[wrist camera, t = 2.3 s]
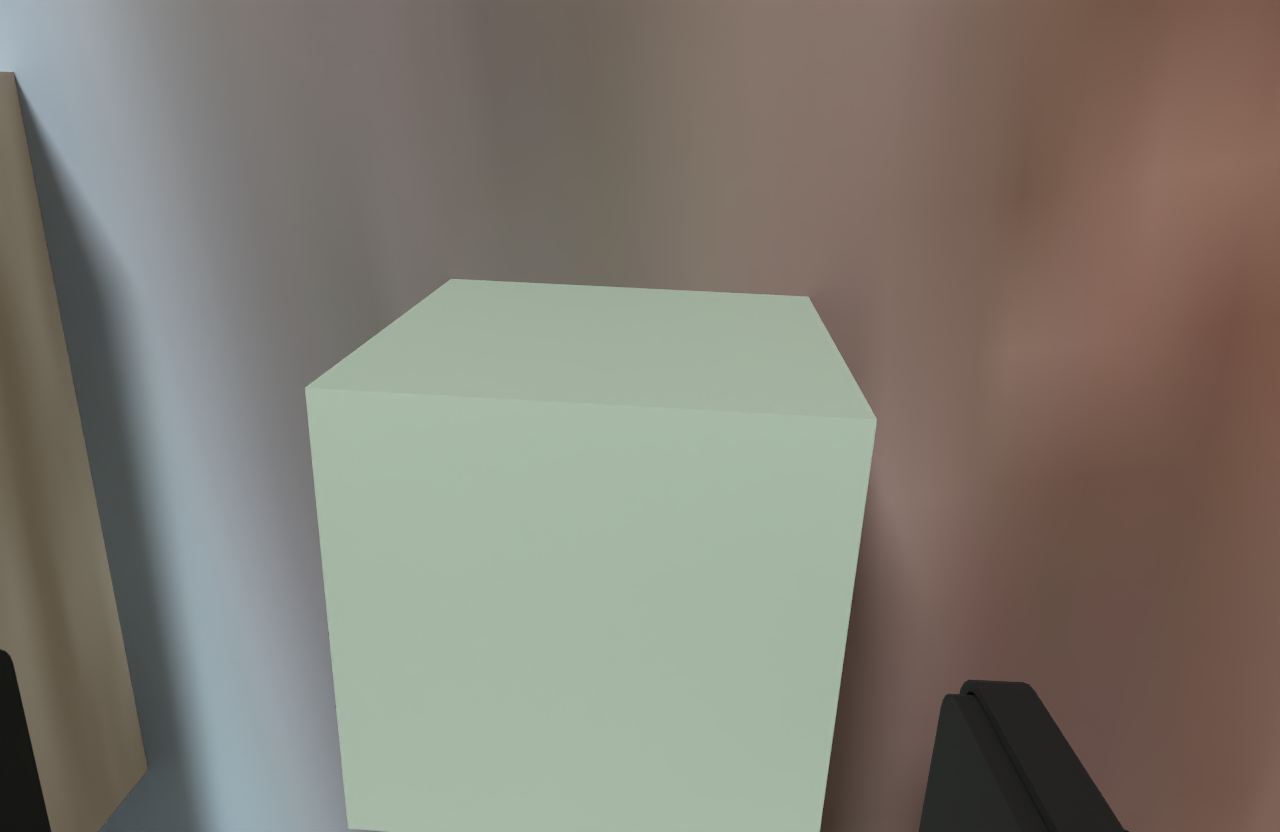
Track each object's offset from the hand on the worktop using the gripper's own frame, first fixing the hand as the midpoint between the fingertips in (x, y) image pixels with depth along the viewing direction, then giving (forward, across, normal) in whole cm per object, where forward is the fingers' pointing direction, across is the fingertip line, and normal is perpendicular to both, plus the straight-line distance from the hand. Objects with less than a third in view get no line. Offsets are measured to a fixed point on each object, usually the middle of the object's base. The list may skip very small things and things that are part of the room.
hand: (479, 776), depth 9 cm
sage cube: (+8, -1, -1) cm, 8 cm away
